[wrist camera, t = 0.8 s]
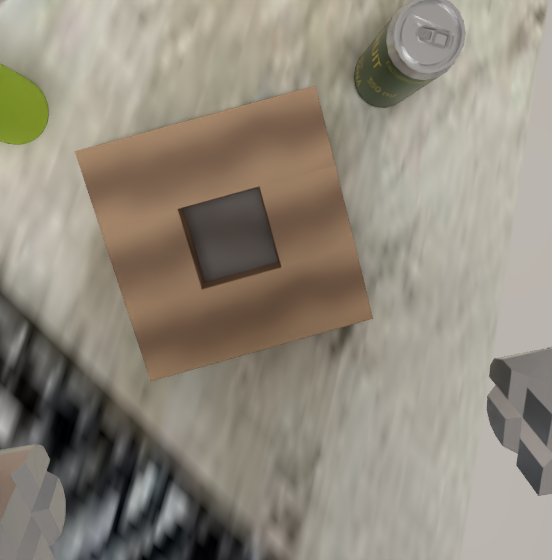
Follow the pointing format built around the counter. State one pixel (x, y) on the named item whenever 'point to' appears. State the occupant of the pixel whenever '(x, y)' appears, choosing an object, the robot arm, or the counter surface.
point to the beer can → (410, 51)
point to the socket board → (227, 232)
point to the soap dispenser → (20, 108)
